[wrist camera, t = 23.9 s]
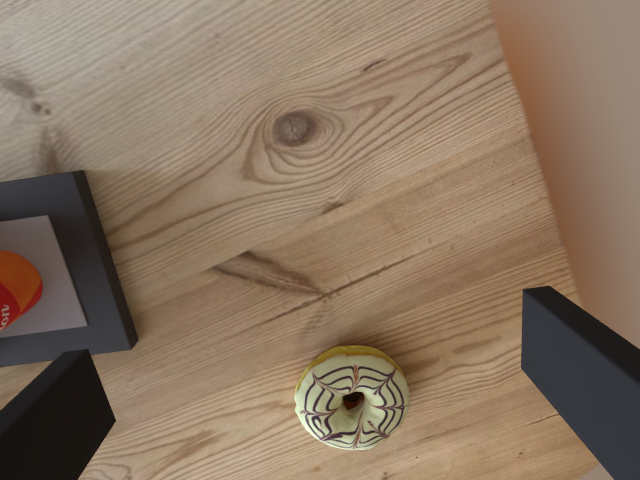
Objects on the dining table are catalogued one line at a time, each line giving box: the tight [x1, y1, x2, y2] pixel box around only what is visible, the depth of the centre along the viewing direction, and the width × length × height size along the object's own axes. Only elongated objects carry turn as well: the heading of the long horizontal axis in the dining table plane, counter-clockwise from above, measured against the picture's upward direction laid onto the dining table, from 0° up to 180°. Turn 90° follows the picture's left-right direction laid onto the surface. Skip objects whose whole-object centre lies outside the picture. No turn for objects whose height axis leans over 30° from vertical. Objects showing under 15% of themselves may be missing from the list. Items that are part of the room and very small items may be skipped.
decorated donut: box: [295, 345, 409, 450], centre depth 35 cm, size 10×11×4 cm
